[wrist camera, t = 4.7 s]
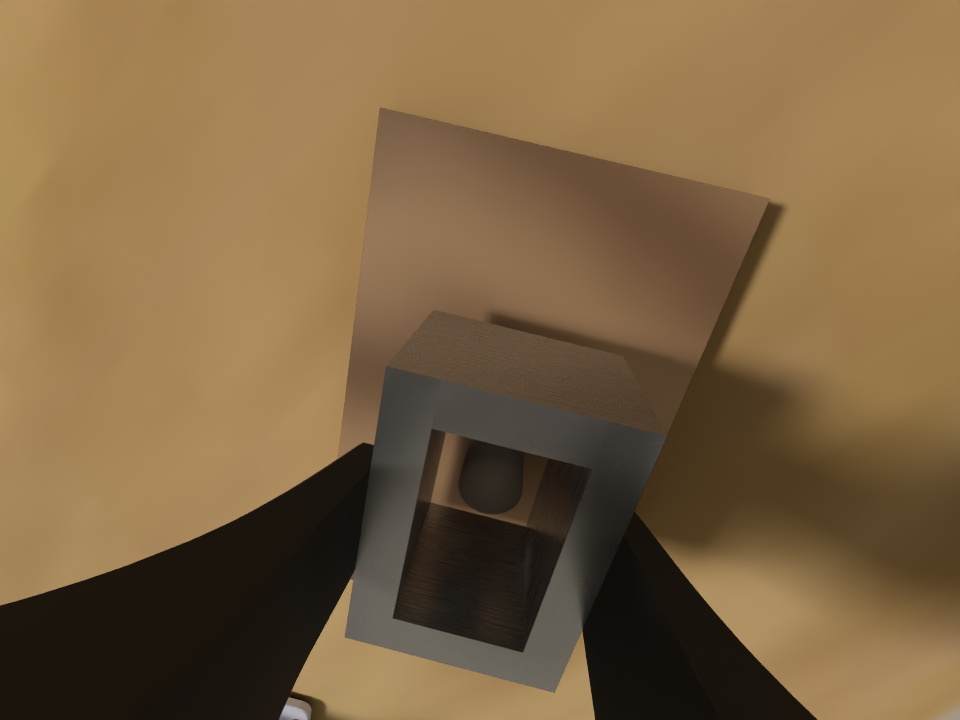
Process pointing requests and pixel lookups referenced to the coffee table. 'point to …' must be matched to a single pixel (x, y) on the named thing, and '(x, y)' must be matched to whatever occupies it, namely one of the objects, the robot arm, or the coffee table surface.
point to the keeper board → (535, 274)
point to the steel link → (488, 541)
